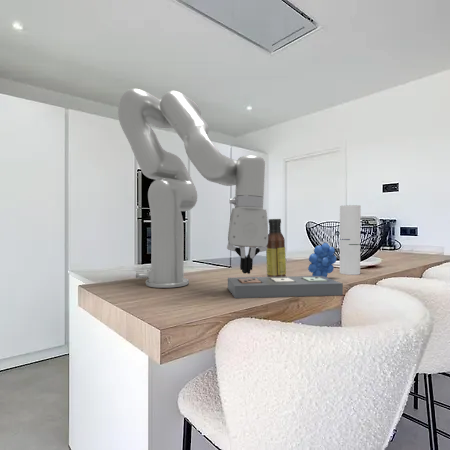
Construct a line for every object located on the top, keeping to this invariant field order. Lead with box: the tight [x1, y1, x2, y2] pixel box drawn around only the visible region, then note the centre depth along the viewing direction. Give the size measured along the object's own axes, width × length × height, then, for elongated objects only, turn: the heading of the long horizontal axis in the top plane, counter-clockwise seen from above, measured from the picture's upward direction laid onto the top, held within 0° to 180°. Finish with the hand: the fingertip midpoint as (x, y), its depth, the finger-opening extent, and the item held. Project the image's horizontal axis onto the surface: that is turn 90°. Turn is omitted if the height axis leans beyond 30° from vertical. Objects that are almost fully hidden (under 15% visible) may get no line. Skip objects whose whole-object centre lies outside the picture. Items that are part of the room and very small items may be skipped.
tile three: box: [239, 278, 261, 283], centre depth 84 cm, size 5×5×3 cm
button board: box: [227, 275, 344, 299], centre depth 86 cm, size 28×12×3 cm, turn 98°
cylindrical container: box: [339, 204, 362, 276], centre depth 118 cm, size 7×7×25 cm
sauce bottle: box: [265, 218, 287, 277], centre depth 105 cm, size 6×6×20 cm
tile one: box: [271, 278, 295, 283], centre depth 86 cm, size 5×5×3 cm
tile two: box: [302, 277, 327, 282], centre depth 87 cm, size 5×5×3 cm
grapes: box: [307, 242, 337, 278], centre depth 106 cm, size 12×7×12 cm, turn 117°
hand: (246, 272), depth 85 cm, fingers closed
